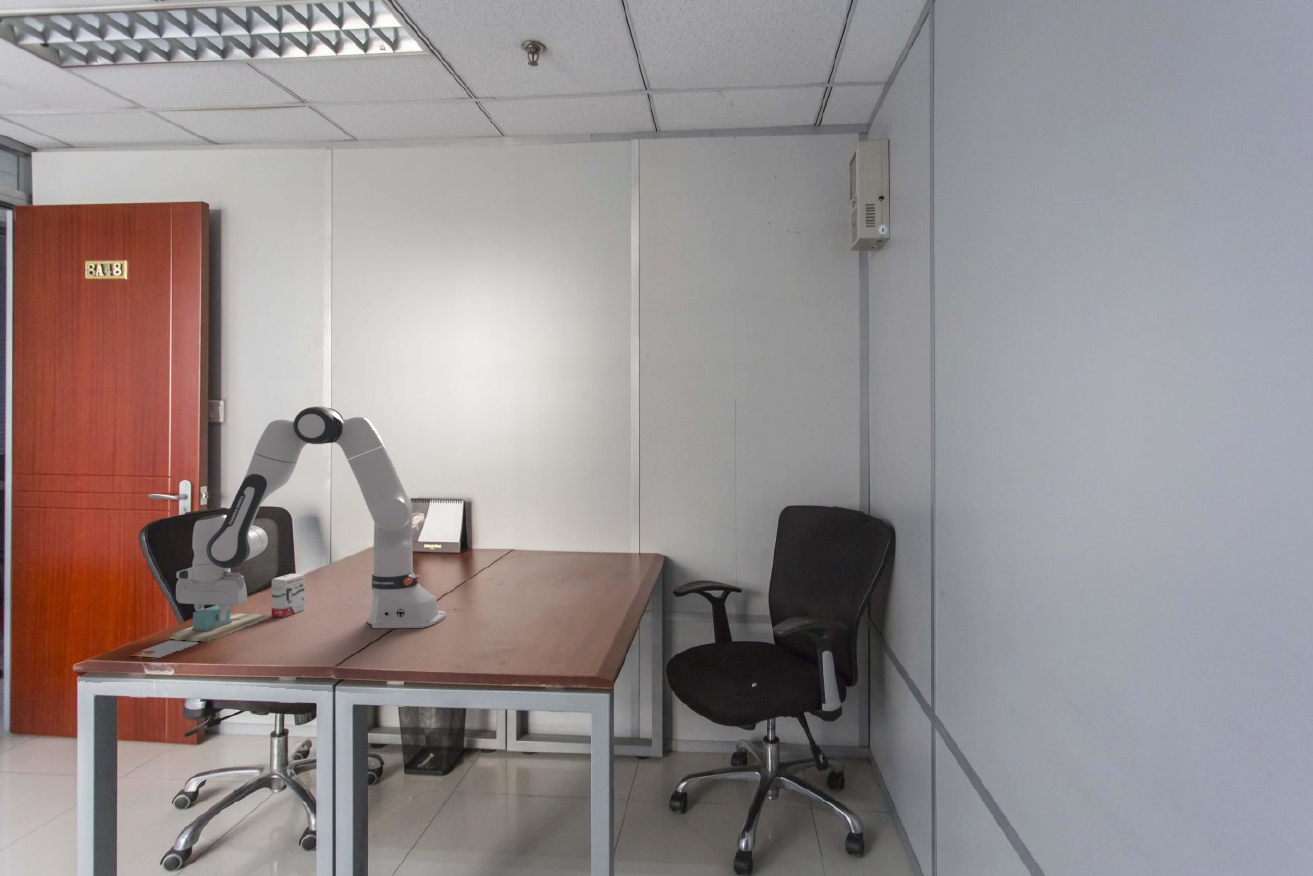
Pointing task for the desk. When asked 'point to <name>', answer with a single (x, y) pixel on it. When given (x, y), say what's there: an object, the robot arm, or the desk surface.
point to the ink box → (288, 594)
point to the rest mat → (167, 648)
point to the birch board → (219, 628)
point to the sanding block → (209, 619)
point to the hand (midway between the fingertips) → (211, 619)
